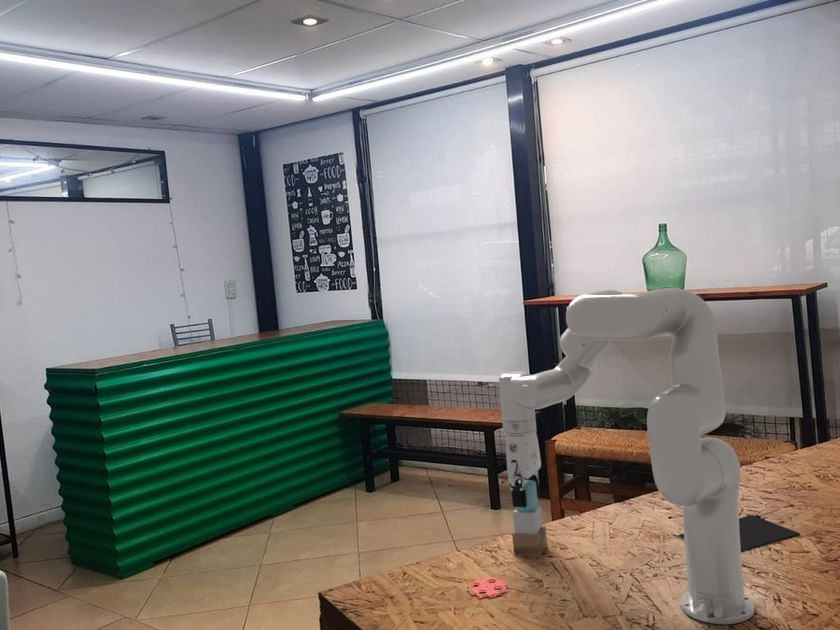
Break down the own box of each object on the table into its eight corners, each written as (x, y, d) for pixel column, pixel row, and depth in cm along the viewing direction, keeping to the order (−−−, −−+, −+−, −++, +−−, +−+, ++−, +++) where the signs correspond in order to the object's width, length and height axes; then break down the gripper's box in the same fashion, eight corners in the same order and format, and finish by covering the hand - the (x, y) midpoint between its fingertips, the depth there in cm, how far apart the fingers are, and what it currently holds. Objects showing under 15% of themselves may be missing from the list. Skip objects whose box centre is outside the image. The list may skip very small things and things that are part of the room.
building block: (476, 598, 145) (512, 590, 147) (462, 583, 152) (497, 574, 155) (476, 602, 145) (512, 593, 147) (462, 586, 152) (497, 578, 155)
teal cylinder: (533, 513, 163) (531, 487, 163) (513, 511, 165) (510, 485, 165) (541, 505, 167) (538, 480, 167) (520, 504, 170) (518, 479, 169)
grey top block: (536, 534, 163) (534, 513, 163) (515, 533, 166) (513, 511, 165) (542, 526, 168) (540, 505, 167) (521, 525, 170) (519, 504, 170)
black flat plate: (801, 537, 161) (749, 517, 175) (801, 531, 161) (749, 511, 175) (720, 561, 153) (673, 538, 167) (719, 555, 153) (672, 532, 167)
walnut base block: (538, 557, 163) (536, 535, 163) (514, 554, 166) (512, 533, 166) (547, 546, 168) (545, 526, 168) (523, 544, 171) (521, 523, 171)
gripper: (521, 435, 156) (528, 515, 157) (547, 416, 171) (553, 489, 172) (489, 434, 159) (496, 512, 161) (517, 416, 174) (524, 487, 176)
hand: (526, 500), depth 166 cm, fingers open, 7 cm apart
